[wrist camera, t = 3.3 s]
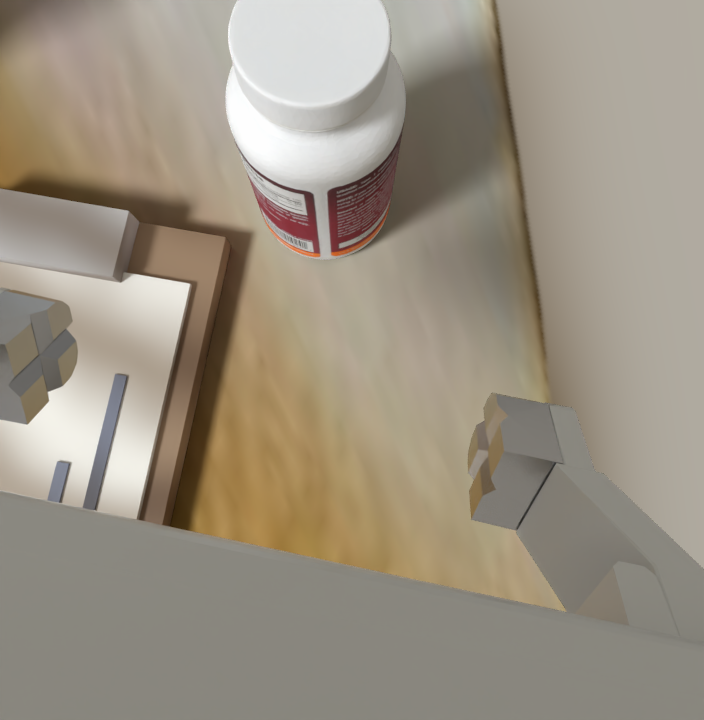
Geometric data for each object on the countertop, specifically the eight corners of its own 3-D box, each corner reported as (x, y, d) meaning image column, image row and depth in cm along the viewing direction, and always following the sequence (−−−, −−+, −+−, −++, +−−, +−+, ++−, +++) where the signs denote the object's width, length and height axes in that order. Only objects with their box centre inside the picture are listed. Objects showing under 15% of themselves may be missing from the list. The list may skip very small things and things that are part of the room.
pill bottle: (382, 139, 27) (410, -72, 16) (395, 258, 26) (433, 124, 15) (257, 147, 26) (196, -59, 15) (264, 268, 25) (206, 139, 15)
